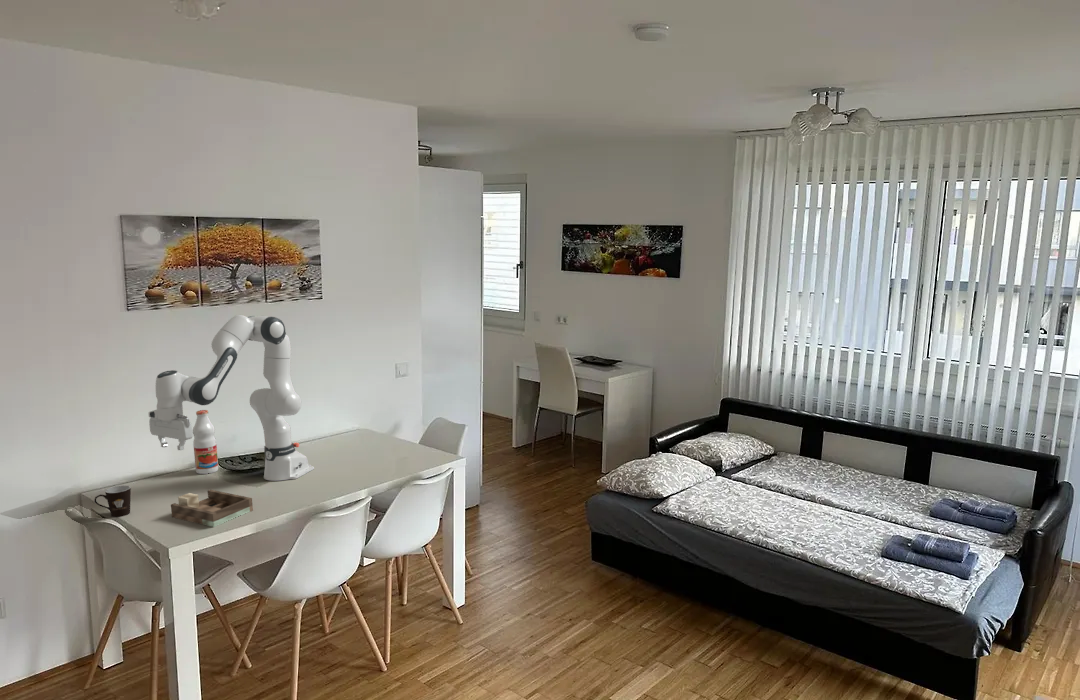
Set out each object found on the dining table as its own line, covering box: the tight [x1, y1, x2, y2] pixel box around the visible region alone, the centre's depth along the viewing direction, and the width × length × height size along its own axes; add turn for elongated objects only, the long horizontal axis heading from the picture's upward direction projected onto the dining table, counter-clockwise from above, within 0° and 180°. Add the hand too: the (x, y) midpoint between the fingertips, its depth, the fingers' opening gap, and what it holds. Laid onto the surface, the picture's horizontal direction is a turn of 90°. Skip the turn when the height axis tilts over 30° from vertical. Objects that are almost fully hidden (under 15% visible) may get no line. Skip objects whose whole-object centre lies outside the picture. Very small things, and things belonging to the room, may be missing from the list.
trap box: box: [170, 489, 254, 528], centre depth 283 cm, size 23×18×5 cm
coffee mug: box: [94, 484, 132, 518], centre depth 283 cm, size 12×9×10 cm
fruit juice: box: [192, 409, 219, 475], centre depth 332 cm, size 9×9×28 cm
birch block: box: [177, 492, 200, 508], centre depth 283 cm, size 5×5×5 cm
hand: (172, 448), depth 284 cm, fingers open, 8 cm apart
